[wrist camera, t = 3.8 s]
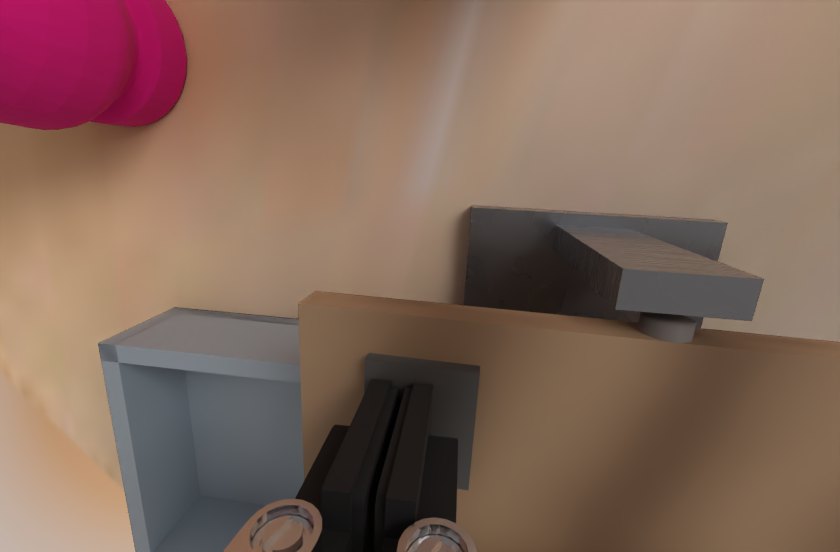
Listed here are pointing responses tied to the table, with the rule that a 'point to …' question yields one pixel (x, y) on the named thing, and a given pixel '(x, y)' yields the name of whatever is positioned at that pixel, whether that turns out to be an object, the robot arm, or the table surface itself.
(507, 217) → the stand
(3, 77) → the pepper mill
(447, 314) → the tray
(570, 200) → the table surface
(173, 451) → the bin
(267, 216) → the table surface
